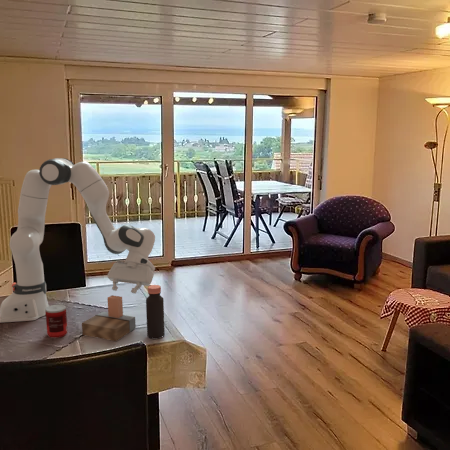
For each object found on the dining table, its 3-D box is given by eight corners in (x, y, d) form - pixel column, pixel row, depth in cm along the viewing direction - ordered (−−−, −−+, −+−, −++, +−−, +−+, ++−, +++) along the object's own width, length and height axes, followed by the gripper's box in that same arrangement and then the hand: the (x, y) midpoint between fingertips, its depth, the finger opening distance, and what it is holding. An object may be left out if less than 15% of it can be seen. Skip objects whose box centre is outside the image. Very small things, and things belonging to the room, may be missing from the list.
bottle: (148, 340, 184) (146, 290, 181) (146, 333, 191) (144, 284, 187) (166, 337, 186) (164, 288, 182) (163, 331, 193) (161, 283, 189)
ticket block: (82, 334, 189) (81, 322, 188) (96, 326, 197) (96, 314, 196) (116, 341, 183) (115, 328, 182) (129, 332, 191) (129, 320, 190)
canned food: (60, 328, 196) (58, 302, 194) (71, 333, 191) (70, 307, 189) (43, 334, 190) (41, 308, 188) (54, 339, 185) (52, 312, 183)
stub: (97, 325, 198) (95, 296, 195) (103, 322, 201) (101, 293, 199) (130, 331, 192) (128, 301, 189) (135, 328, 195) (134, 298, 193)
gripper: (112, 256, 208) (99, 285, 201) (152, 261, 200) (141, 290, 193) (118, 264, 213) (106, 291, 206) (158, 268, 205) (147, 297, 198)
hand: (123, 291), depth 199 cm, fingers open, 8 cm apart
